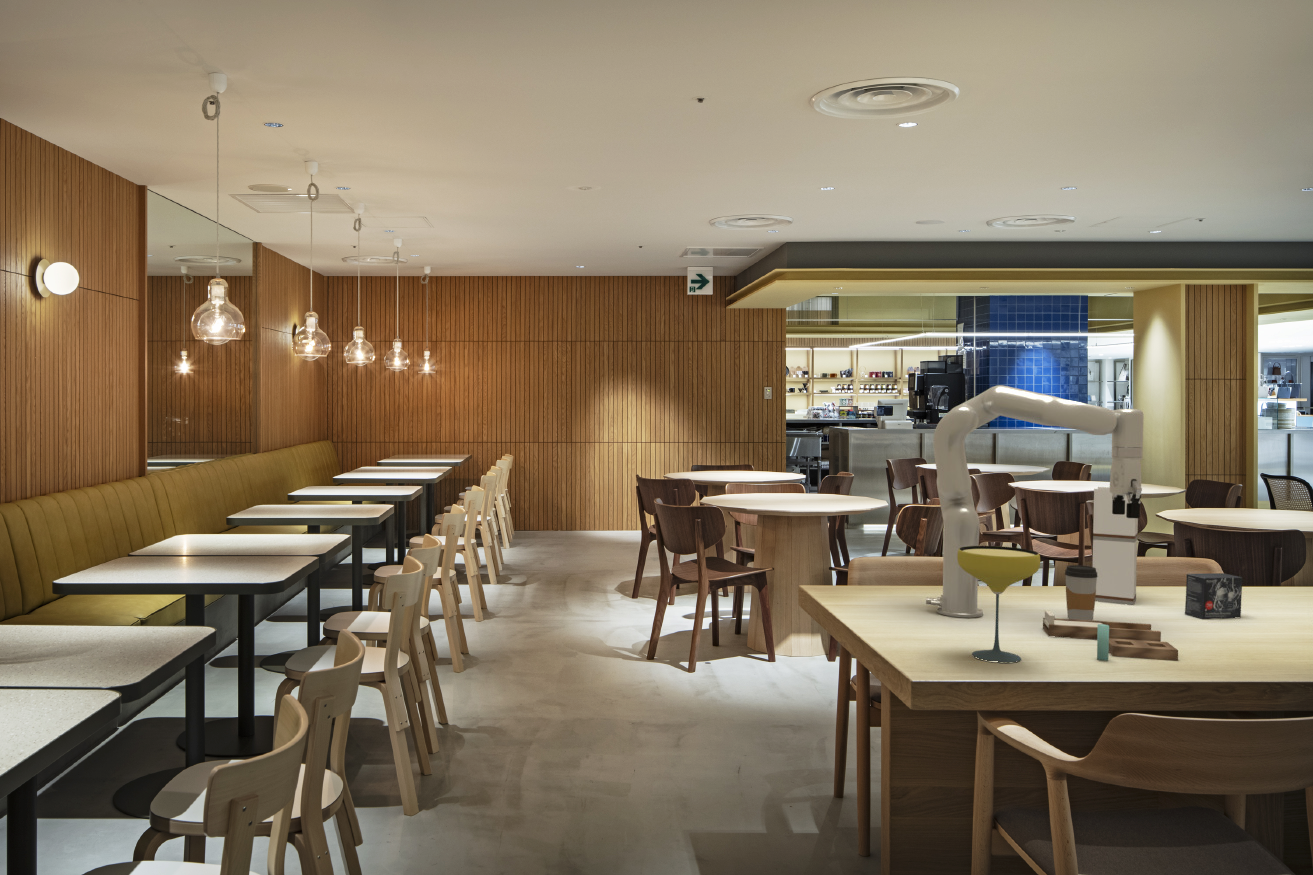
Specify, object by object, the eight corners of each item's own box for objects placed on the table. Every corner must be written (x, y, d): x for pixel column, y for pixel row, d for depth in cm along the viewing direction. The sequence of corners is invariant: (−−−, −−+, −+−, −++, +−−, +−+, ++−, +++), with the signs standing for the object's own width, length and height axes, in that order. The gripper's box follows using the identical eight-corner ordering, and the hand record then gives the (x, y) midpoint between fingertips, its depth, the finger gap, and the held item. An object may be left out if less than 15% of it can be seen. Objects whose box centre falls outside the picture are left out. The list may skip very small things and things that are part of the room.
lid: (1048, 627, 230) (1048, 615, 230) (1043, 622, 236) (1044, 610, 236) (1107, 631, 227) (1107, 618, 227) (1101, 625, 233) (1101, 613, 233)
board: (1049, 636, 229) (1049, 624, 229) (1042, 628, 238) (1043, 617, 238) (1160, 643, 223) (1160, 631, 223) (1149, 635, 231) (1150, 623, 231)
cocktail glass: (995, 671, 196) (997, 558, 196) (939, 651, 213) (941, 547, 212) (1056, 663, 203) (1058, 554, 203) (996, 644, 220) (998, 544, 219)
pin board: (1112, 655, 210) (1112, 645, 210) (1103, 647, 218) (1104, 637, 218) (1177, 660, 207) (1178, 650, 207) (1167, 651, 215) (1167, 641, 215)
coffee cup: (1100, 624, 243) (1101, 570, 243) (1068, 623, 245) (1069, 569, 244) (1092, 618, 251) (1093, 565, 251) (1060, 616, 253) (1061, 564, 252)
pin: (1098, 660, 206) (1099, 626, 206) (1095, 657, 208) (1096, 623, 208) (1109, 661, 206) (1110, 626, 205) (1107, 658, 208) (1107, 624, 208)
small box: (1203, 619, 251) (1204, 577, 251) (1184, 614, 258) (1184, 573, 258) (1242, 618, 254) (1243, 576, 254) (1222, 613, 261) (1223, 572, 260)
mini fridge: (1136, 599, 279) (1138, 488, 278) (1133, 605, 270) (1135, 490, 269) (1095, 595, 285) (1098, 486, 285) (1091, 600, 276) (1094, 488, 276)
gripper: (1100, 452, 252) (1099, 512, 252) (1125, 454, 235) (1123, 519, 235) (1128, 453, 251) (1127, 513, 251) (1155, 455, 234) (1153, 520, 234)
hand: (1125, 516), depth 243 cm, fingers open, 9 cm apart
